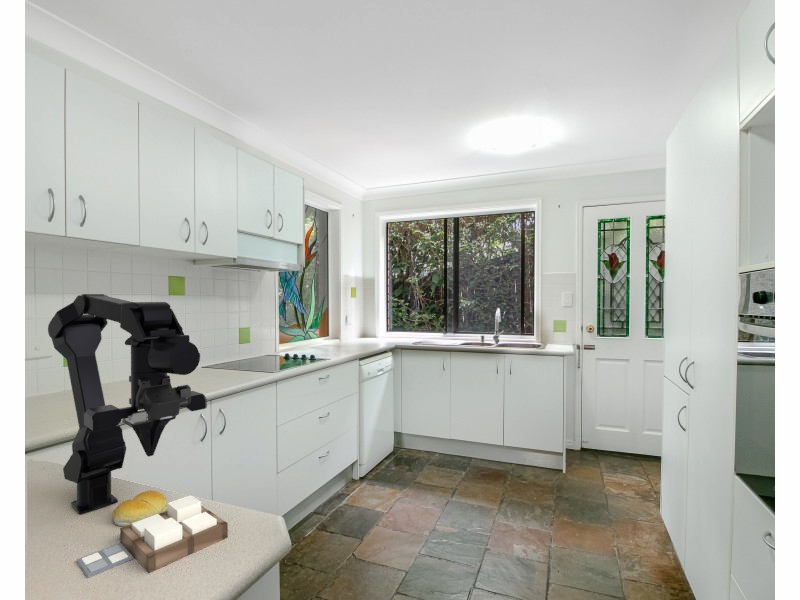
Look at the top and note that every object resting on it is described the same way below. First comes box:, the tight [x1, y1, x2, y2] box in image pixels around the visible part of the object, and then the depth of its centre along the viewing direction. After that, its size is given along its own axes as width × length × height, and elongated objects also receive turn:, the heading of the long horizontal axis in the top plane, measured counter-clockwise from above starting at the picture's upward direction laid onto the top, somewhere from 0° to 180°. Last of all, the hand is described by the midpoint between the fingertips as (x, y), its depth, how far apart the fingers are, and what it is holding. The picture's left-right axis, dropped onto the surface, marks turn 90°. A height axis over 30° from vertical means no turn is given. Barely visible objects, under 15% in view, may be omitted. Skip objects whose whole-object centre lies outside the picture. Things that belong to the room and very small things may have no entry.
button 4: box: [181, 512, 217, 535], centre depth 74 cm, size 4×4×3 cm
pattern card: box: [76, 542, 134, 579], centre depth 68 cm, size 6×6×1 cm
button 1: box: [132, 514, 165, 538], centre depth 73 cm, size 4×4×3 cm
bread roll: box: [112, 490, 169, 528], centre depth 82 cm, size 8×9×4 cm
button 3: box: [167, 495, 202, 522], centre depth 78 cm, size 4×4×3 cm
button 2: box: [144, 517, 182, 551], centre depth 70 cm, size 4×4×3 cm
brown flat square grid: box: [119, 504, 229, 574], centre depth 74 cm, size 13×13×2 cm
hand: (149, 455), depth 78 cm, fingers closed
